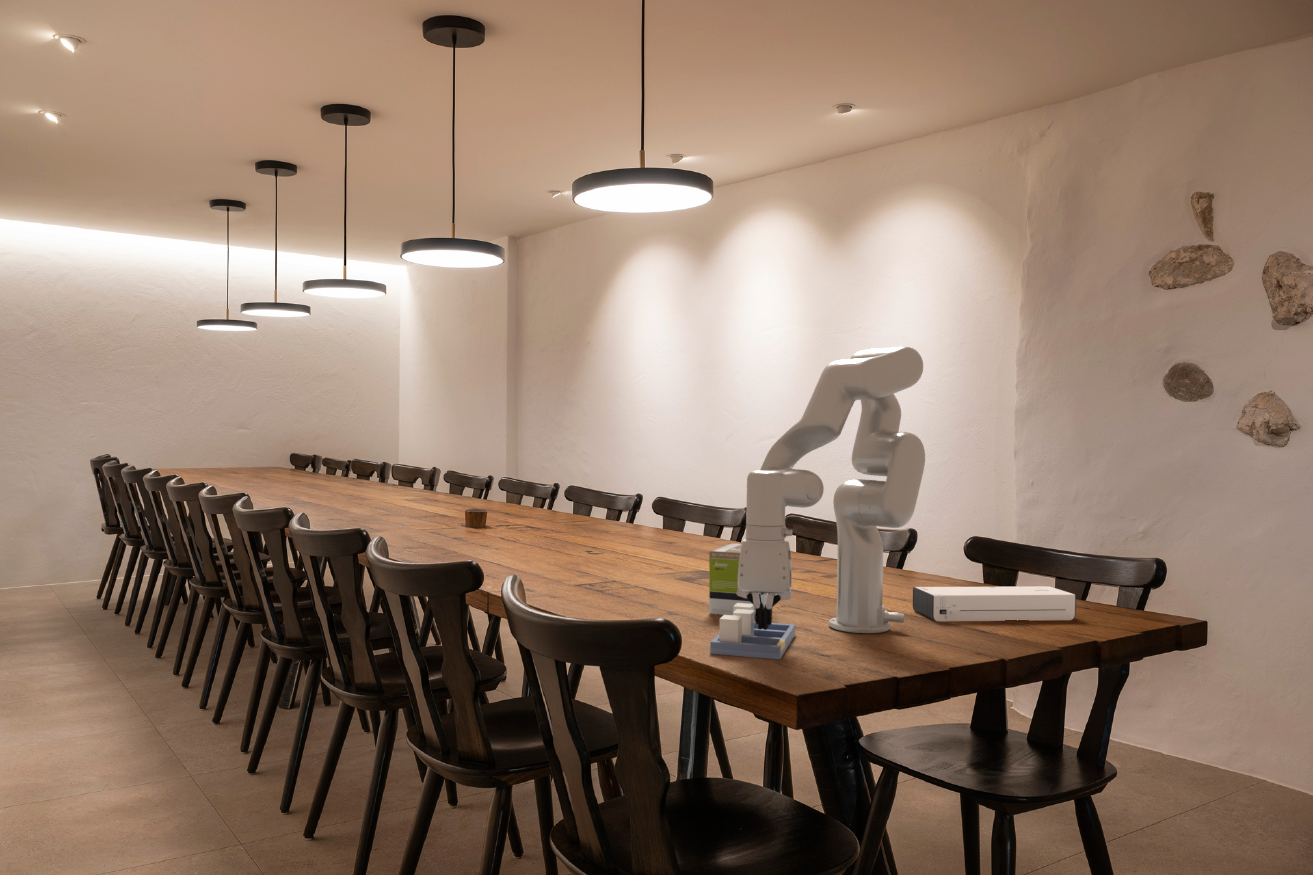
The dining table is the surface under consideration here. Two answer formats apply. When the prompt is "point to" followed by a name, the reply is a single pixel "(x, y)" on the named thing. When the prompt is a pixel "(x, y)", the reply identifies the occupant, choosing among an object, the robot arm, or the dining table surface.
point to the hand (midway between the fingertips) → (763, 627)
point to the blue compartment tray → (758, 642)
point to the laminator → (994, 603)
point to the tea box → (725, 580)
